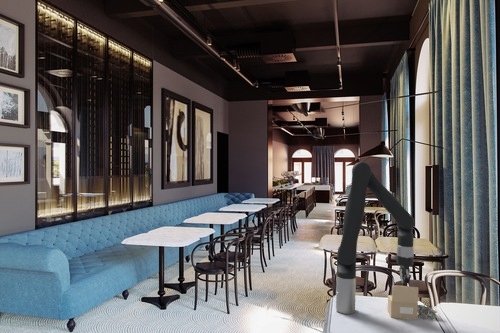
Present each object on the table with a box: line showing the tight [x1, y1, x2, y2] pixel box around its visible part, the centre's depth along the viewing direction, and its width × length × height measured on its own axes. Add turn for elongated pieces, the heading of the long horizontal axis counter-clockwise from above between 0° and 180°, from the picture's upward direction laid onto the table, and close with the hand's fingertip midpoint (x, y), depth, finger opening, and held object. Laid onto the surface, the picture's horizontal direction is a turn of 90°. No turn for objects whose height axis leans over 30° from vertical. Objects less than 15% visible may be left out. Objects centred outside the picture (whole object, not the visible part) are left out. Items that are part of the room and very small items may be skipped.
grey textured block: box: [418, 304, 437, 320], centre depth 182 cm, size 11×8×4 cm
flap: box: [391, 284, 419, 305], centre depth 176 cm, size 12×8×1 cm
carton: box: [387, 294, 419, 321], centre depth 181 cm, size 12×9×8 cm
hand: (404, 290), depth 178 cm, fingers closed
